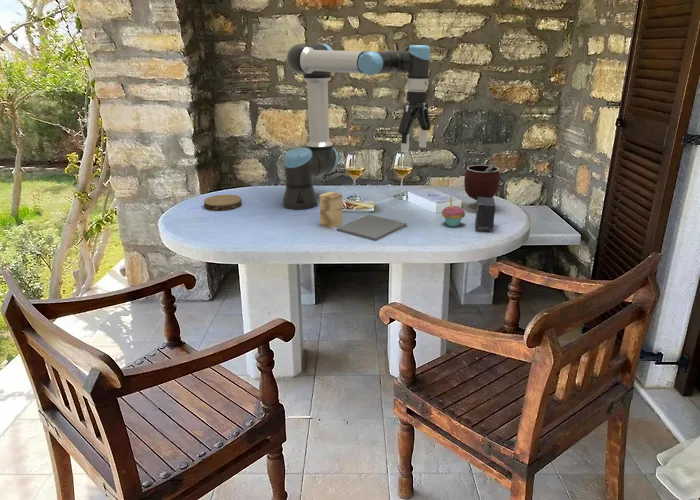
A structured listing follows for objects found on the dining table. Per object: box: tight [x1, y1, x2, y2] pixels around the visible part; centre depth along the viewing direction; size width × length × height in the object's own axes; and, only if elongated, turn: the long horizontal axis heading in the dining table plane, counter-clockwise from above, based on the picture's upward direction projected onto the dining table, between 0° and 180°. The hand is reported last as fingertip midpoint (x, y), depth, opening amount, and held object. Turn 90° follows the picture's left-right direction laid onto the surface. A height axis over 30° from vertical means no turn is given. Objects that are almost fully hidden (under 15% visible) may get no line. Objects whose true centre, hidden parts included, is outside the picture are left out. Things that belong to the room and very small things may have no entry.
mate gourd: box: [463, 164, 501, 214], centre depth 211 cm, size 16×14×20 cm
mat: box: [336, 214, 408, 242], centre depth 194 cm, size 18×20×1 cm
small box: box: [474, 197, 496, 233], centre depth 192 cm, size 11×6×10 cm, turn 168°
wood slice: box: [203, 194, 243, 212], centre depth 223 cm, size 16×16×3 cm
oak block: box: [319, 191, 343, 229], centre depth 197 cm, size 6×6×12 cm
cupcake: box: [441, 194, 466, 227], centre depth 195 cm, size 9×8×12 cm
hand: (413, 149), depth 194 cm, fingers open, 13 cm apart
